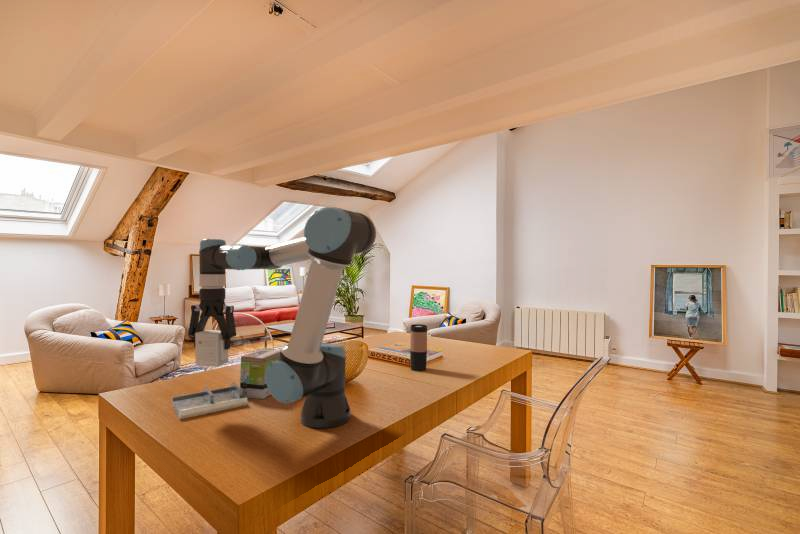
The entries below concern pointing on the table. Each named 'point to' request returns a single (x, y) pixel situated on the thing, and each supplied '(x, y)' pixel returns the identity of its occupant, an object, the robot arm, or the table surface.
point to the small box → (208, 348)
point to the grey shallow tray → (208, 401)
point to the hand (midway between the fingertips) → (212, 358)
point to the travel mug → (418, 347)
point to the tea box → (256, 372)
